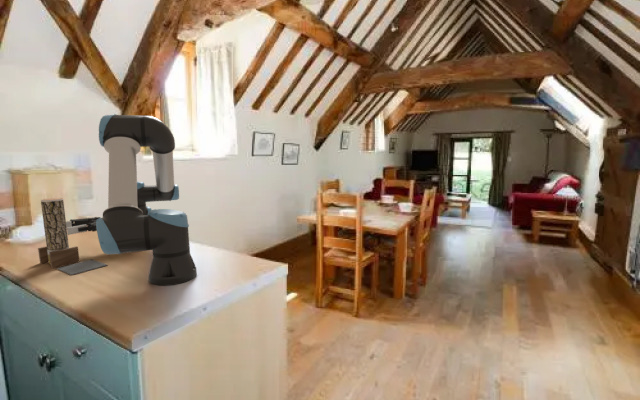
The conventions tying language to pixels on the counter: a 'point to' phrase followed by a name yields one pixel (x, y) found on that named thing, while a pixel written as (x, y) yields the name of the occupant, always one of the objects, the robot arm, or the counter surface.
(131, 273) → the counter surface
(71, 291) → the counter surface
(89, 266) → the mat
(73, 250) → the board
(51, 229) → the paper tube
